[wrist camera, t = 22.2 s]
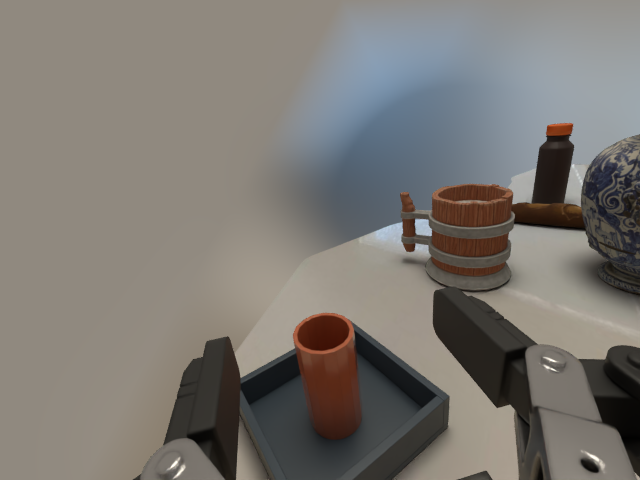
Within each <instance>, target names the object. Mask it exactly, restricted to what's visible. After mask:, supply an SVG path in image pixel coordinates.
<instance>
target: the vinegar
mask: <svg viewBox="0 0 640 480" xmlns="http://www.w3.org/2000/svg"><path fill="white" fill-rule="evenodd" d="M572 127H573V124H572V123H563V124H552V125H548V126H547V132H546V135H547V136H546V137H547V141H546V142H545V143H544V144H543V145H542V146H541V147H540V149H539V156H538V162H537V169H536V176H535V183H534V190H533V197H532V204H537V203H538V204H552V203H563V204H564V199H565V194H566V188H567V183H568V178H569V172H570V167H571V161H572V156H573V150H574V145H573V144H572V143H571V142H570V141H569V136H571V135H570V134H571V133H572Z"/></svg>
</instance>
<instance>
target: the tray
mask: <svg viewBox="0 0 640 480" xmlns="http://www.w3.org/2000/svg"><path fill="white" fill-rule="evenodd" d="M348 320H349V319H348ZM349 321H350V320H349ZM350 322H351V321H350ZM351 323H352V326H353V328H354V335H355V344H356V353H357V362H358V372H359V381H360V390H361V399H362V421H361V423H360V426H359V427H358V429H357V430H356V431H355V432H354V433H353V434H351V435H350V436H348V437H346V438H343V439H339V440H331V439H327V438H324V437H322V436H321V435H319V434H318V433H317V432H316V431H315V430H314V428H313V427H312V425H311V421H310V417H309V412H308V408H307V403H306V398H305V393H304V388H303V383H302V379H301V374H300V369H299V364H298V359H297V354H296V350H295V349H293V350H291V351H289V352H288V353H286V354H284V355H282V356H280V357H278V358H277V359H275V360H273V361H271V362H269V363H268V364H266V365H264V366H262V367H260V368H258V369H257V370H255V371H253V372H251V373H249V374H247V375H246V376H244V377H242V378H240V380H241V390H240V409H239V413H240V416H241V418H242V420H243V422H244V424H245V426H246V428H247V431H248V433H249V435H250V437H251V439H252V441H253V443H254V446H255V448H256V450H257V452H258V454H259V456H260V458H261V461H262V463H263V465H264V467H265V469H266V471H267V474H268V476H269V478H270V480H391V479H392V478H393V477H394V476H396V475H397V474H398V473H399V472H400V471H401V470H402V469H403V468H404V467H405V466H406V465H407V464H408V463H410V462H411V461H412V460H413V459H414V458H415V457H416V456H417V455H418V454H419V453H420V452H421V451H422V450H423V449H425V448H426V447H427V446H428V445H429V444H430V443H431V442H432V441H433V440H434V439H435V438H436V437H437V436H439V435H440V434H441V433H442V432H443V431H444V430H445V429H446V428H447V427H448V417H449V395H447V394H446V393H445V392H443V391H442V390H441V389H439V388H438V387H437V386H435V385H434V384H433V383H431V382H430V381H429V380H427V379H426V378H425V377H424V376H422V375H421V374H420V373H418V372H417V371H416V370H414V369H413V368H412V367H410V366H409V365H408V364H406V363H405V362H404V361H402V360H401V359H400V358H399V357H397V356H396V355H395V354H393V353H392V352H391V351H389V350H388V349H387V348H385V347H384V346H383V345H381V344H380V343H379V342H378V341H376V340H375V339H374V338H372V337H371V336H370V335H368V334H367V333H366V332H364V331H363V330H362V329H360V328H359V327H358V326H356V325H355V324H354V323H353V322H351Z"/></svg>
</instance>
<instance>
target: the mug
mask: <svg viewBox="0 0 640 480" xmlns="http://www.w3.org/2000/svg"><path fill="white" fill-rule="evenodd" d="M400 196H401V201H402V205H403V207H402V210H401V218H402V221H403V234H402V240H401V241H402V242H403V245H404V247H405V249H406V251H407V252H413V251H414V250H415V243H417V244H424V245H429V253H430V254H431V258H430V259H429V261H428V262H427V264H426V270H427V272H428V274H429V275H430V276H431V277H432V278H433V279H435V280H436V281H437V282H439V283H441V284H443V285H446V286H448V287H453V286H455V287H457V288H458V289H461V290H469V291H482V290H489V289H493V288H496V287H498V286H500V285H502V284H504V283H505V282H507V281H508V280H509V278H510V277H511V271H510V269H509V267H508V265H507V263H506V260H508V258H509V257H510V251H511V242H510V240H509V239H508V234H509V232H510V231H511V230H512V229H513V226H514V218H515V214H514V213H513V212H512V211H511V208H512V200H513V192H512V190H510V189H506V188H503V187H499V185H495V184H492V185H482V184H463V185H457V186H447V187H442V188H440V189H438V190H437V191H435V192H434V193H433V195H432V210H431V211H422V210H416V209H415V206H414V205H413V203H412V200H411V198H410V197H409V193H408V192H403V193H400ZM415 218H418V219H428V220H429V226H430V228H431V229H432V236H423V235H417V234H416V233H415Z"/></svg>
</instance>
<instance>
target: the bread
mask: <svg viewBox="0 0 640 480" xmlns="http://www.w3.org/2000/svg"><path fill="white" fill-rule="evenodd" d="M511 211H512V212H513V213H514V214H515V218H514V222H522V223H532V224H542V225H553V226H564V227H576V228H585V224H584V221H583V216H582V210H581V207H579V206H577V205H573V204H563V203H552V204H538V203H537V204H530V203H517V204H512V208H511Z"/></svg>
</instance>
